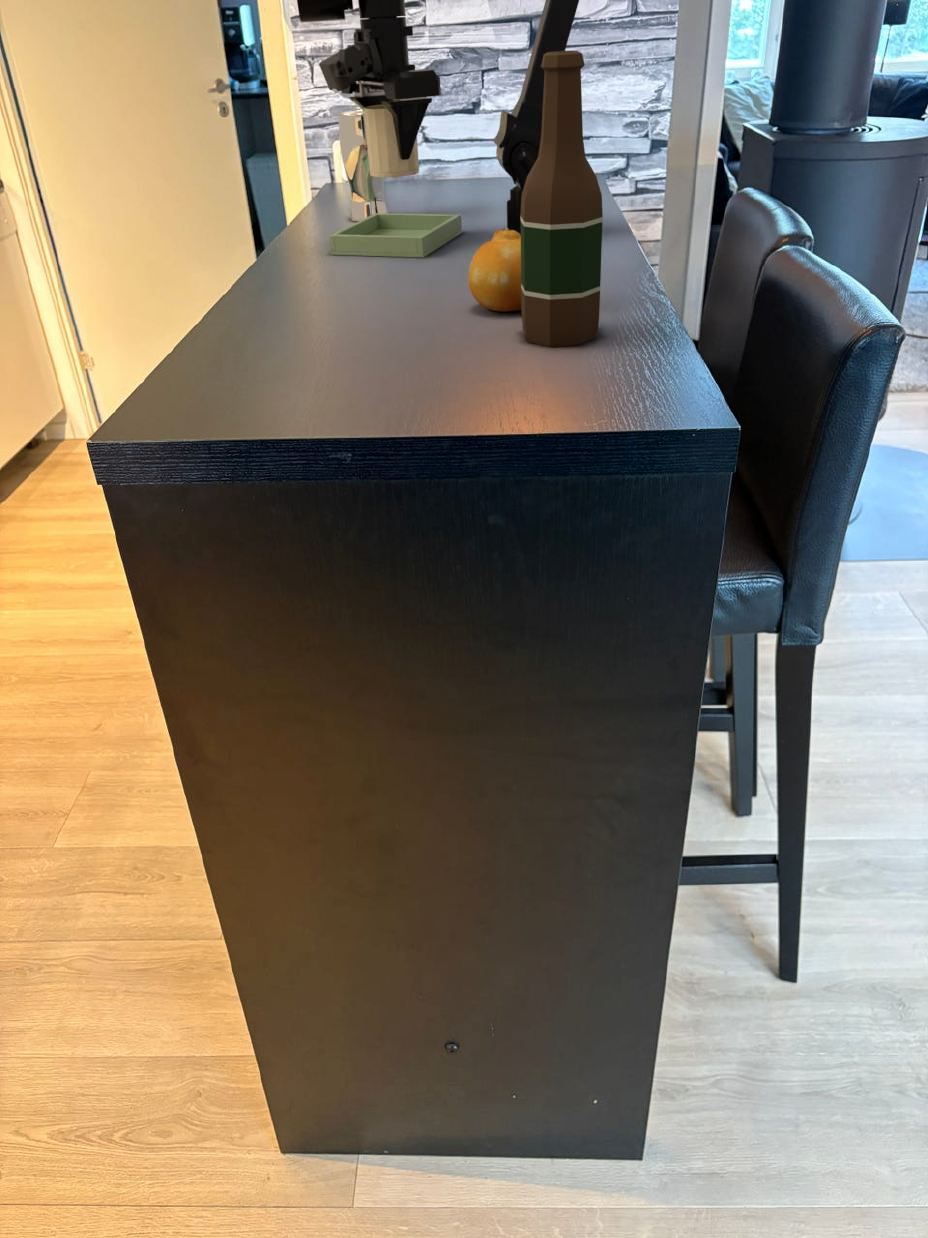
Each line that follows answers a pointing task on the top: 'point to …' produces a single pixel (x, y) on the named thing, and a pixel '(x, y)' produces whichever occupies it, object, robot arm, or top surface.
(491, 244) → the fruit
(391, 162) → the cup
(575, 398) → the top surface
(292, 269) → the top surface
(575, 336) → the beer bottle
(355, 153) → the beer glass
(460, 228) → the tray
